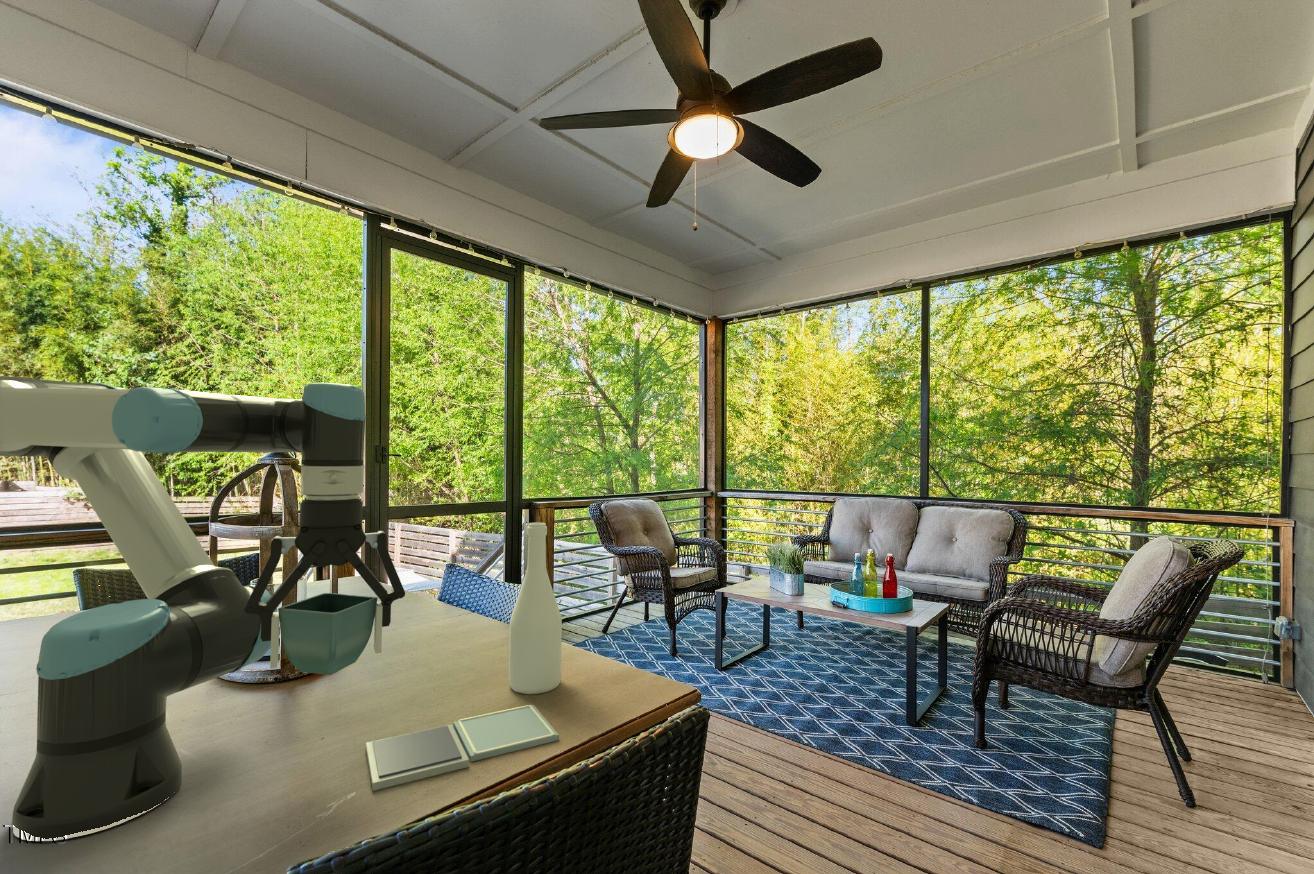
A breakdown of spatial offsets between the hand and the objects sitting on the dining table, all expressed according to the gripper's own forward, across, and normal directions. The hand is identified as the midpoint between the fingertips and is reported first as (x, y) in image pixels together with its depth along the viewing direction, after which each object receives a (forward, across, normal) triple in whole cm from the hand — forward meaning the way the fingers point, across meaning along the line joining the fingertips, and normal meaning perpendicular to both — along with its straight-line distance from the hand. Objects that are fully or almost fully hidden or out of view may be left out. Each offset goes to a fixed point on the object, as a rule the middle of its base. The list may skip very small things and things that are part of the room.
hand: (327, 657), depth 81 cm
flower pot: (+2, 0, 0) cm, 2 cm away
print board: (+15, +24, -1) cm, 29 cm away
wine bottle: (+15, +34, +15) cm, 40 cm away
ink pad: (+15, +11, -2) cm, 19 cm away
